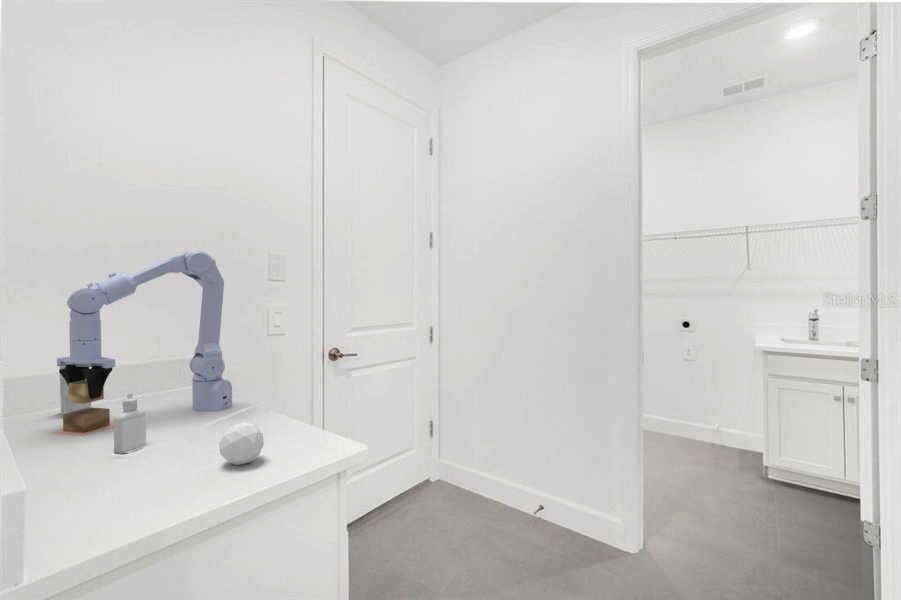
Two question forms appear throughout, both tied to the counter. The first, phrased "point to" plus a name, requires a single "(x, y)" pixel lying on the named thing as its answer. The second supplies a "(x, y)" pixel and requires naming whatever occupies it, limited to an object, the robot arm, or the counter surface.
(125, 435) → the eye dropper bottle
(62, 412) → the skincare box
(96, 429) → the grey square plate
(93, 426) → the walnut base block
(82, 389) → the oak block
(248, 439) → the ball
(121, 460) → the counter surface
